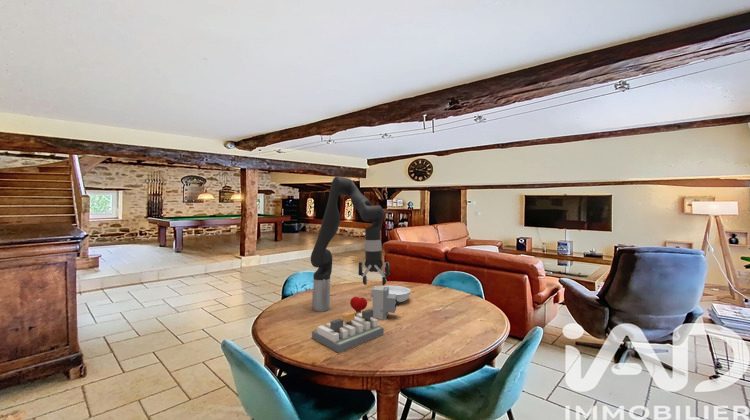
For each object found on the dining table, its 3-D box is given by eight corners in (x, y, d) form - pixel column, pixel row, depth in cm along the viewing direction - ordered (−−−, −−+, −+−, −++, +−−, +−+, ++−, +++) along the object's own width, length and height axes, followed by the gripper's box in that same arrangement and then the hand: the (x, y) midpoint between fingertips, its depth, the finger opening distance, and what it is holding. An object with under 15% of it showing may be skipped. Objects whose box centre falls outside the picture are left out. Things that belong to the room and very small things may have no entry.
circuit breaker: (397, 320, 166) (398, 291, 165) (370, 317, 169) (371, 289, 168) (399, 315, 173) (400, 287, 173) (373, 313, 176) (373, 285, 175)
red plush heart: (369, 315, 173) (369, 296, 172) (364, 319, 166) (364, 300, 166) (352, 312, 176) (353, 294, 175) (347, 317, 169) (347, 298, 169)
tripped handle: (342, 329, 145) (342, 314, 145) (350, 326, 148) (351, 311, 148) (345, 331, 143) (346, 315, 143) (354, 328, 147) (354, 313, 146)
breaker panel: (311, 338, 144) (312, 315, 143) (356, 322, 162) (356, 302, 161) (338, 353, 130) (339, 327, 130) (383, 334, 148) (383, 312, 148)
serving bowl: (416, 299, 201) (416, 288, 201) (400, 309, 183) (400, 297, 183) (387, 293, 212) (387, 283, 212) (369, 302, 195) (369, 290, 194)
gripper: (390, 248, 150) (391, 283, 150) (360, 248, 153) (361, 282, 153) (387, 250, 142) (388, 287, 143) (356, 250, 146) (357, 286, 146)
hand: (374, 284), depth 148 cm, fingers open, 8 cm apart
